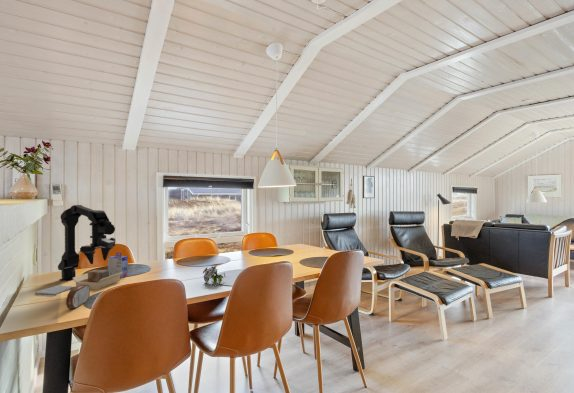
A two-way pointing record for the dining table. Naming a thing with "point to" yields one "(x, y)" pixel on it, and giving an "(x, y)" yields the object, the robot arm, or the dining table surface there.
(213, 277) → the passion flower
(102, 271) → the walnut block
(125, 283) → the dining table surface
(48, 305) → the dining table surface
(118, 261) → the ink cartridge box
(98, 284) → the beige tray
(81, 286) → the tin
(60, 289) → the felt pad
